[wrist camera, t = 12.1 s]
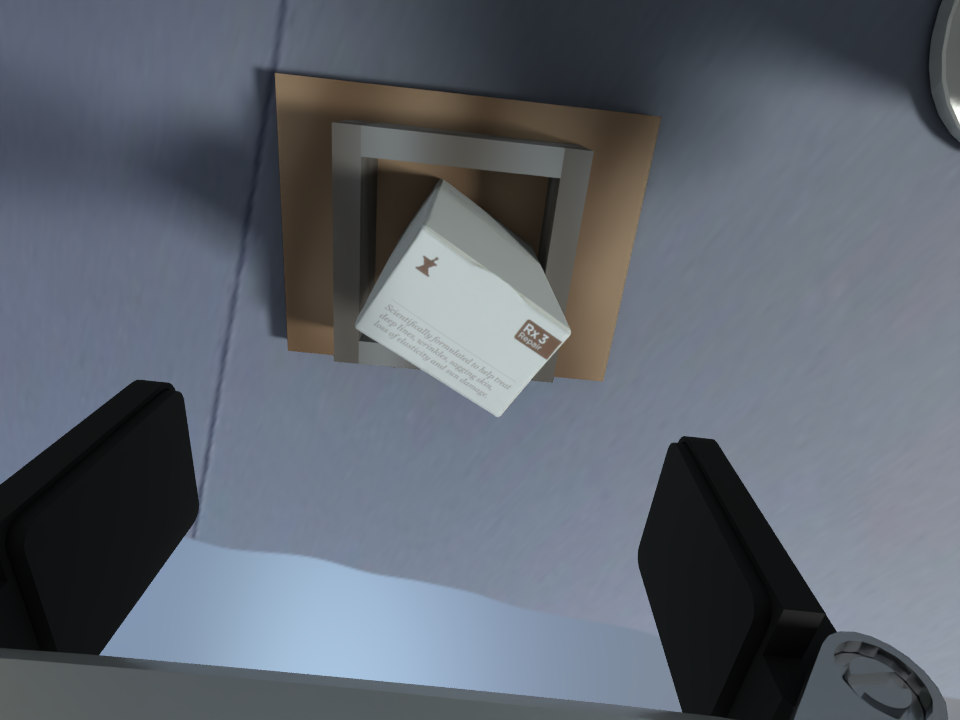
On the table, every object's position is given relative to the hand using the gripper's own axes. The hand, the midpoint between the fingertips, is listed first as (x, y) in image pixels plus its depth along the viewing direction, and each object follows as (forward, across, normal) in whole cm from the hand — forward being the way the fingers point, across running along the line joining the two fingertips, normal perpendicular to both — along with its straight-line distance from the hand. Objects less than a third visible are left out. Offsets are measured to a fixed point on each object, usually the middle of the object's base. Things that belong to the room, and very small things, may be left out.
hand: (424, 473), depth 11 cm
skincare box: (+20, 0, 0) cm, 20 cm away
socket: (+21, +1, 0) cm, 21 cm away
